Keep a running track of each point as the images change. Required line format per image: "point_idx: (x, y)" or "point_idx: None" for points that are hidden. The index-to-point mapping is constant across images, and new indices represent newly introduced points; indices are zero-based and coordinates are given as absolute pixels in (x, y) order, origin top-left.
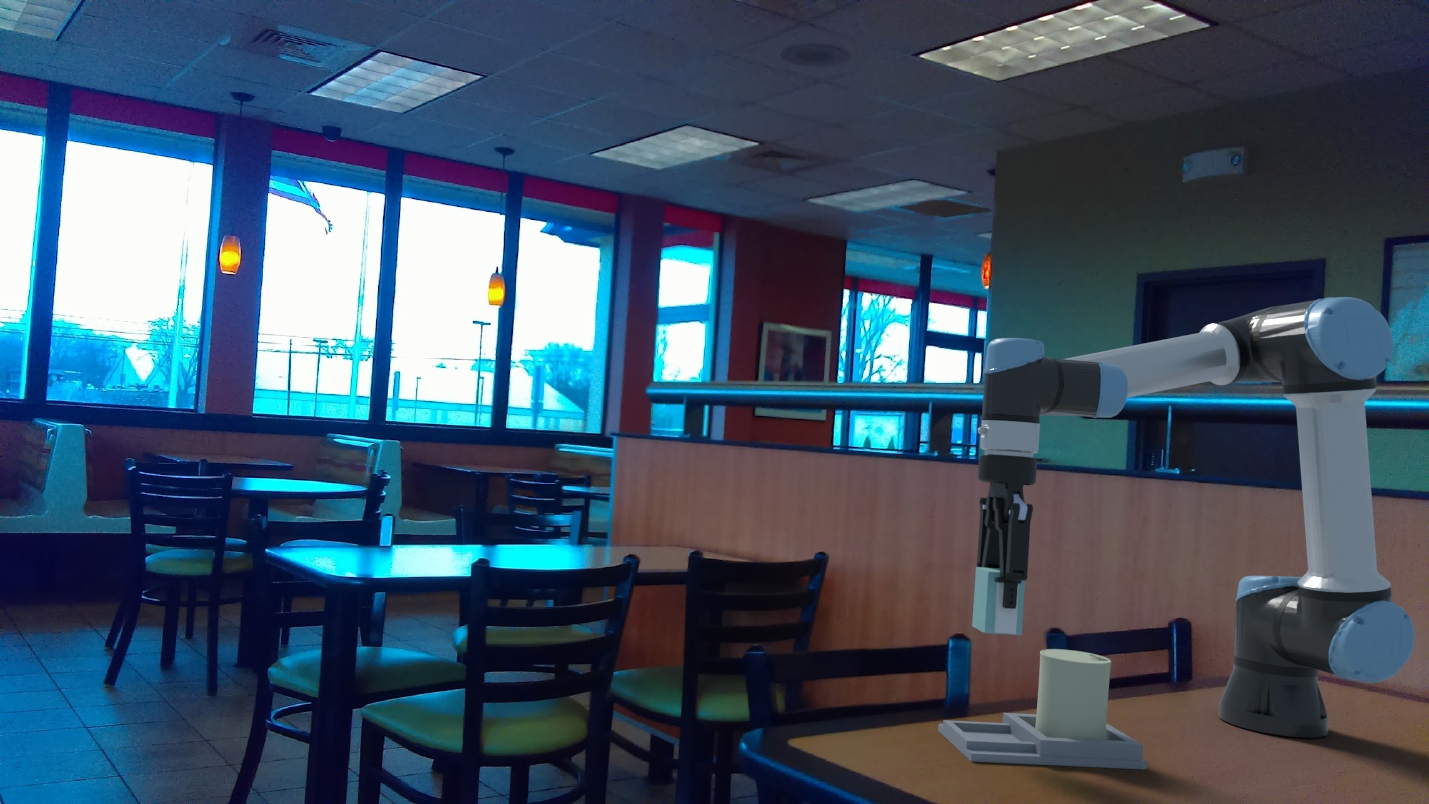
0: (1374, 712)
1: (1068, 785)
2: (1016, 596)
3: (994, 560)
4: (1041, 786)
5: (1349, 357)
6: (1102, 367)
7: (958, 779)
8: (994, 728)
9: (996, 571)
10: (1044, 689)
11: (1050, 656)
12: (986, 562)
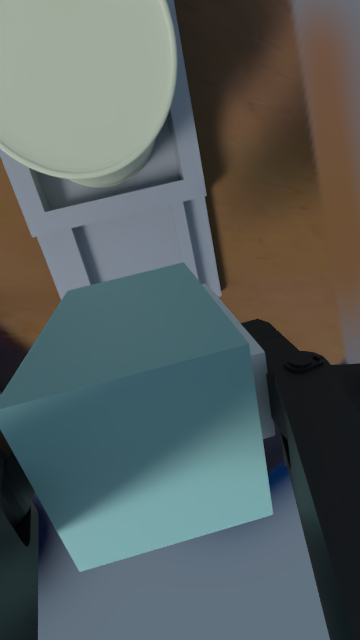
0: None
1: (288, 170)
2: (284, 338)
3: (10, 552)
4: (300, 211)
5: None
6: None
7: (294, 310)
8: (80, 252)
9: (231, 485)
10: (120, 173)
11: (131, 158)
12: (32, 568)
